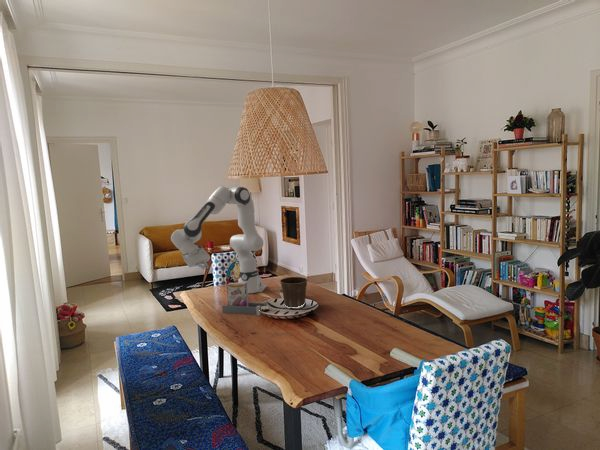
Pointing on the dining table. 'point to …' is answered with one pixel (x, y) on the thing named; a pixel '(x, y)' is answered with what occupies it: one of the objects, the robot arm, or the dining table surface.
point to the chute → (245, 308)
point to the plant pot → (294, 291)
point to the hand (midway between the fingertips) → (206, 268)
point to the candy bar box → (237, 294)
